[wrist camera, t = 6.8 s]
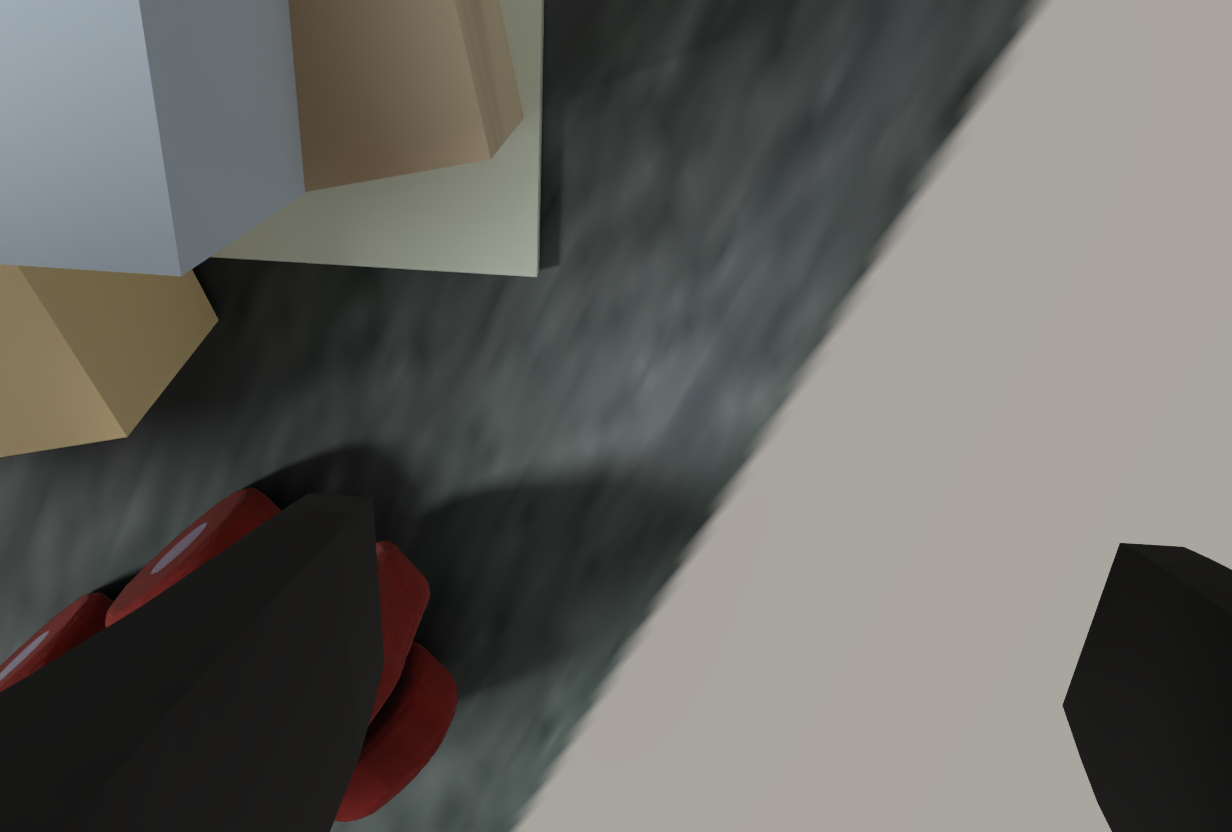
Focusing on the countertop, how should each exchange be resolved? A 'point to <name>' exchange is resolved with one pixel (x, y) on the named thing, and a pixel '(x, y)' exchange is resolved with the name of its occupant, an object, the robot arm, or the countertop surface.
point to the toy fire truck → (412, 677)
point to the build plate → (431, 198)
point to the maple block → (400, 86)
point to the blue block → (143, 130)
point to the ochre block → (90, 351)
